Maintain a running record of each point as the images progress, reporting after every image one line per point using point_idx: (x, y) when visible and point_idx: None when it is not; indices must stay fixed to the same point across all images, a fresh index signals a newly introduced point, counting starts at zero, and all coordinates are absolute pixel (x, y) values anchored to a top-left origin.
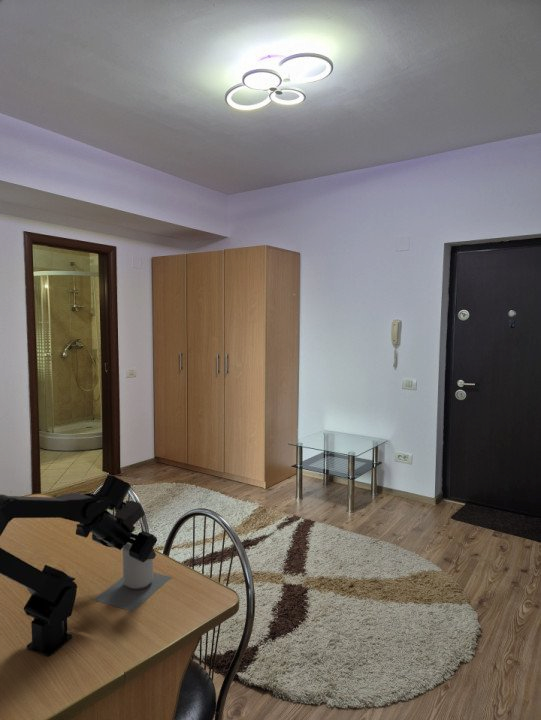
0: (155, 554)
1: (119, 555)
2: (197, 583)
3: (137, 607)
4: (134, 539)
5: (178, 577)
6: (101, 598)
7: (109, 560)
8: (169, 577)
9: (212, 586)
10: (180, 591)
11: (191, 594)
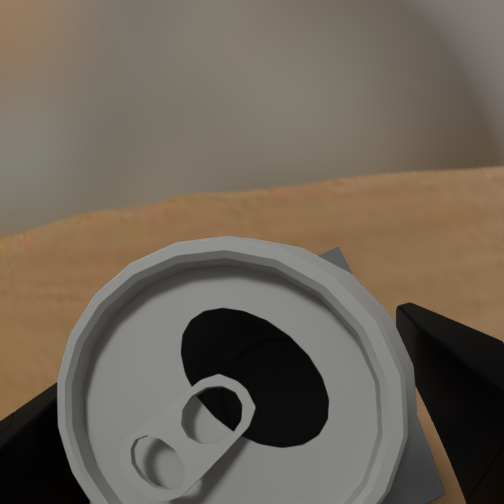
0: (419, 310)
1: (43, 307)
2: (425, 195)
3: (437, 473)
4: (147, 426)
5: (342, 224)
6: None
7: (42, 351)
8: (333, 256)
9: (465, 173)
10: (439, 272)
11: (476, 250)
